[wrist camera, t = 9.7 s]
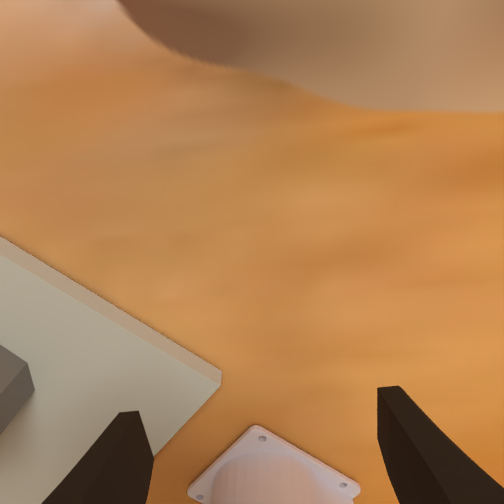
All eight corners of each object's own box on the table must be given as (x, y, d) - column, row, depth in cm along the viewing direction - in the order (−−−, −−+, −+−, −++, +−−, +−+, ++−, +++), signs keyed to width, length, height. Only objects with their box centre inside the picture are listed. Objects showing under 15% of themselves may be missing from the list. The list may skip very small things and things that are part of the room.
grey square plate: (222, 371, 22) (215, 429, 18) (80, 524, 28) (52, 593, 24) (-38, 213, 19) (-115, 243, 15) (-142, 425, 24) (-218, 488, 20)
